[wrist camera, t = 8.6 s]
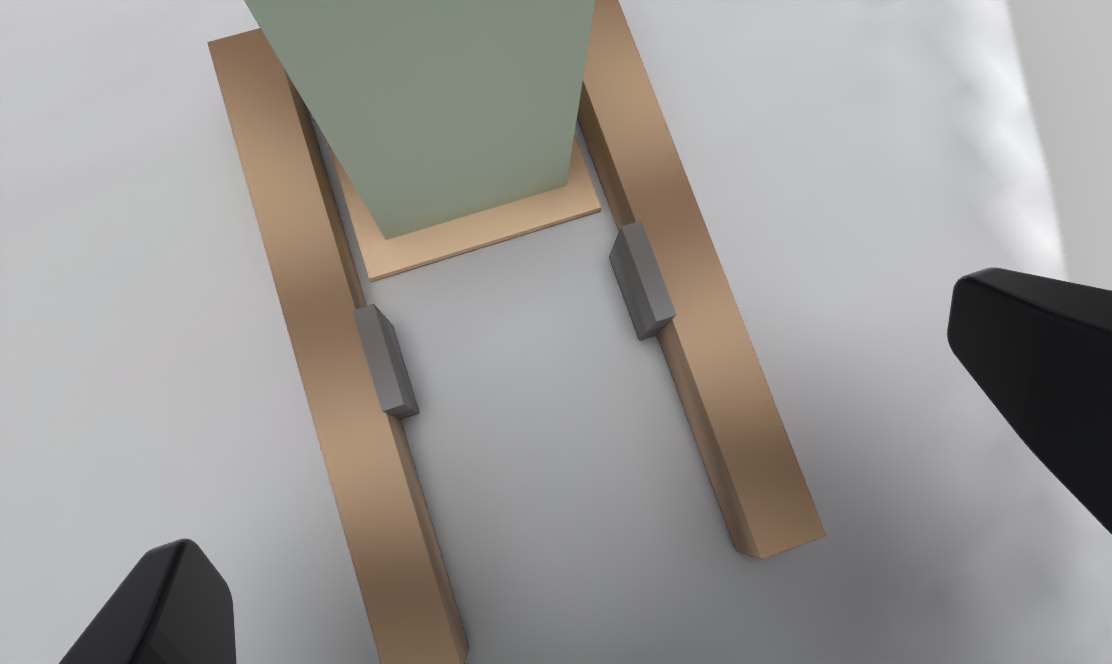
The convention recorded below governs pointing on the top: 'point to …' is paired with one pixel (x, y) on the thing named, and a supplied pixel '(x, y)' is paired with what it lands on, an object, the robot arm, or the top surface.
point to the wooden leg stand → (378, 367)
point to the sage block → (437, 97)
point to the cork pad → (468, 223)
